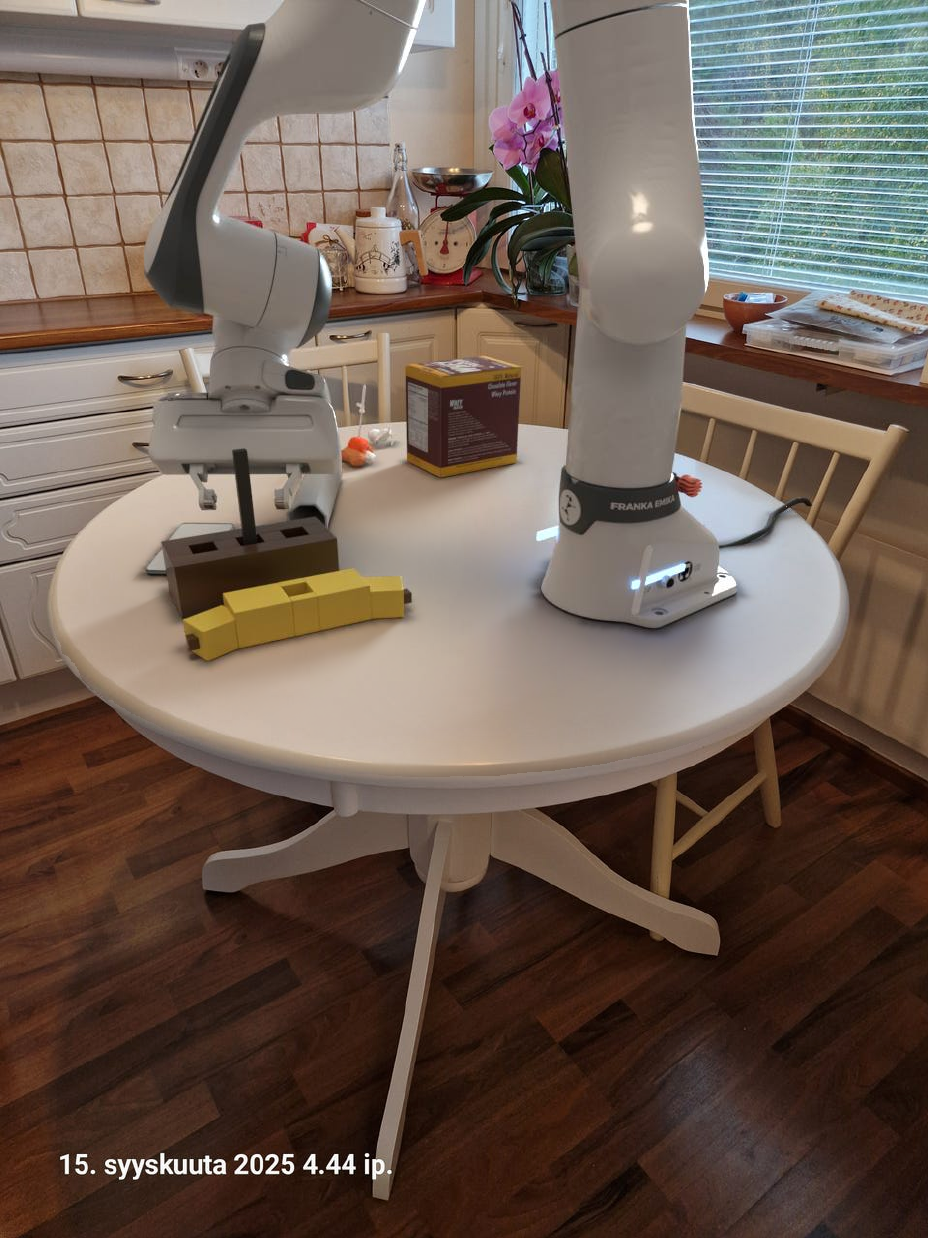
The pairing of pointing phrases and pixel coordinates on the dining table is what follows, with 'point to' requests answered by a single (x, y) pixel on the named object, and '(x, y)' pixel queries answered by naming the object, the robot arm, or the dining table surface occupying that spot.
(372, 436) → the white bird figurine
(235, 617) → the banana
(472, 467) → the supplement box
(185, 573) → the cutlery block
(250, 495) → the dark grey stepped rod
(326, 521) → the tube
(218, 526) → the smartphone
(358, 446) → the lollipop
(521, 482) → the dining table surface
